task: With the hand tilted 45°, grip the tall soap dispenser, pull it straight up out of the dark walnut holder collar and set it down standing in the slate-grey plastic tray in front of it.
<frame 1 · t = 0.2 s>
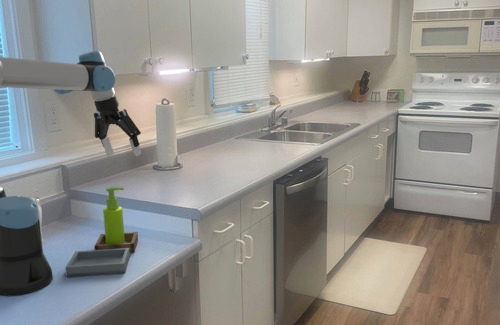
hand: (124, 155, 173), 27 cm above the countertop, tool pointing down, fingers open, 13 cm apart
tray: (99, 266, 145), on the countertop
holder collar: (117, 247, 159), on the countertop
soap dispenser: (117, 248, 160), resting in holder collar
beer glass: (34, 242, 166), on the countertop
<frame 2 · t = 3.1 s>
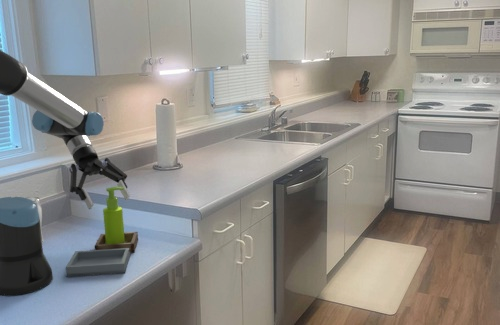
hand: (110, 202, 161), 14 cm above the countertop, tool tilted 45°, fingers open, 13 cm apart
nothing on the countertop moved.
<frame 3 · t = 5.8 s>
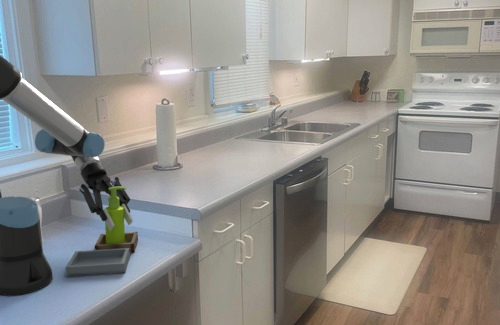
hand: (121, 225, 155), 8 cm above the countertop, tool tilted 45°, fingers closed on soap dispenser, 6 cm apart
soap dispenser: (117, 247, 160), resting in holder collar, touching gripper
everything else where it was.
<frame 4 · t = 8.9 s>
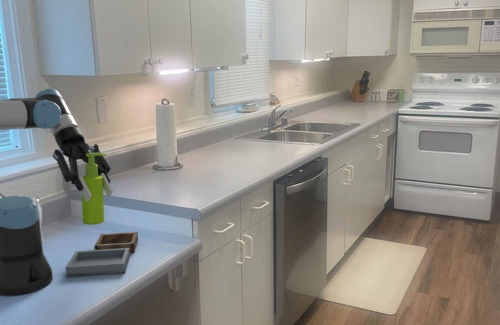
hand: (99, 196, 138), 22 cm above the countertop, tool tilted 45°, fingers closed on soap dispenser, 6 cm apart
soap dispenser: (95, 222, 142), point 14 cm above the countertop, touching gripper
everything else where it was.
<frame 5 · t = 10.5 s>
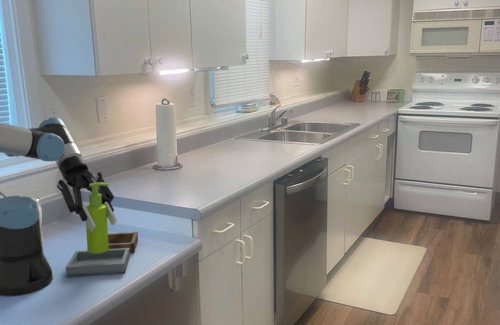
hand: (103, 225, 140), 13 cm above the countertop, tool tilted 45°, fingers closed on soap dispenser, 6 cm apart
soap dispenser: (100, 250, 144), point 5 cm above the countertop, touching gripper
everything else where it was.
when the fingers open (11 cm above the countertop, at t = 11.8 s): soap dispenser drops 1 cm, resting on tray.
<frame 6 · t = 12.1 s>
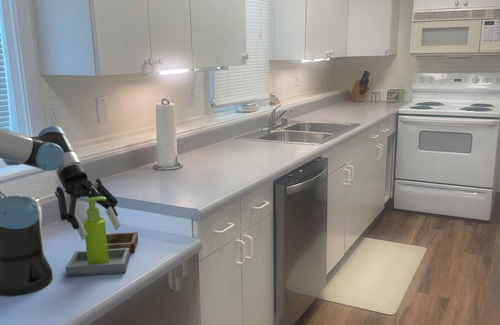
hand: (101, 232, 140), 11 cm above the countertop, tool tilted 45°, fingers open, 10 cm apart
soap dispenser: (100, 263, 145), point 1 cm above the countertop, touching tray
everything else where it was.
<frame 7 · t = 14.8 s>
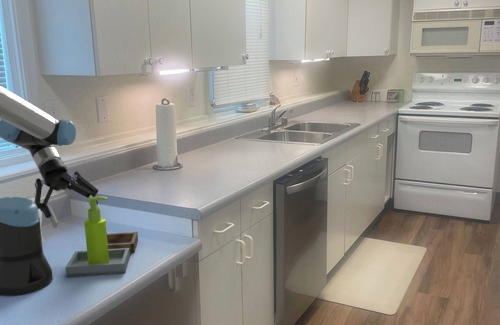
hand: (78, 219, 149), 12 cm above the countertop, tool tilted 45°, fingers open, 13 cm apart
nothing on the countertop moved.
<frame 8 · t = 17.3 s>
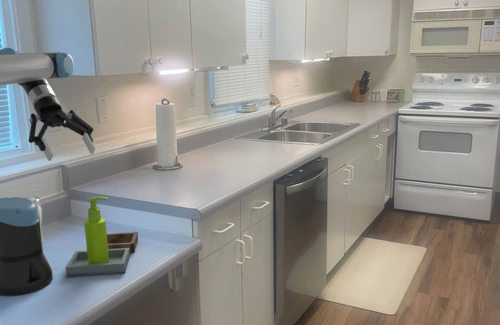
hand: (72, 154, 149), 32 cm above the countertop, tool tilted 45°, fingers open, 13 cm apart
nothing on the countertop moved.
at the end: soap dispenser inside the target area on the tray (0.4 cm from its centre), point 0.8 cm above the tray's base; soap dispenser tilted 0°; the gripper is holding nothing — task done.
